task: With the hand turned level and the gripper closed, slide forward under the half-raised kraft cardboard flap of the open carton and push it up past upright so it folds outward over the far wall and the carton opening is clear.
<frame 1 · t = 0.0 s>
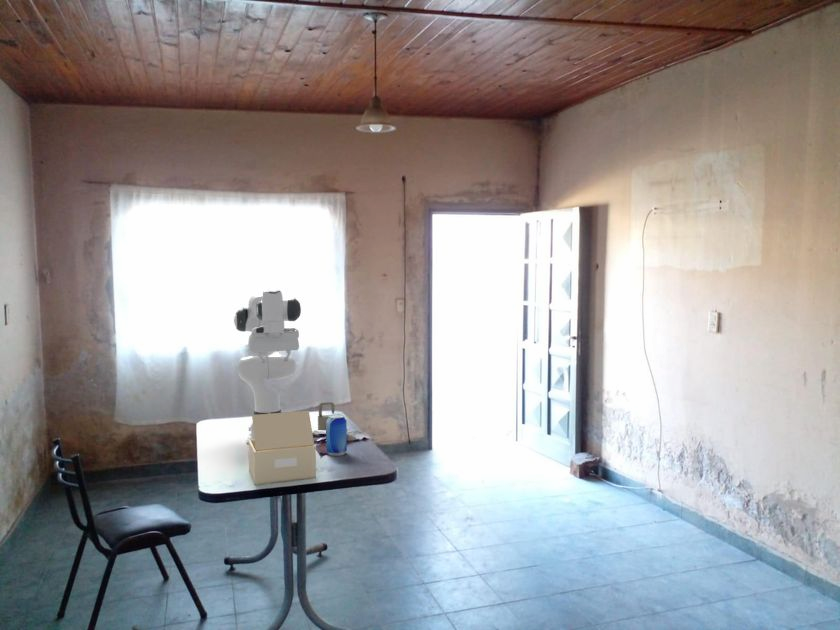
hand: (274, 362, 273), 39 cm above the table, tool pointing down, fingers open, 8 cm apart
beer can: (336, 454, 278), on the table
padlock: (327, 433, 312), on the table
carton flap: (285, 447, 241), point 13 cm above the table, hinge at 50.0°
carton: (281, 474, 250), on the table
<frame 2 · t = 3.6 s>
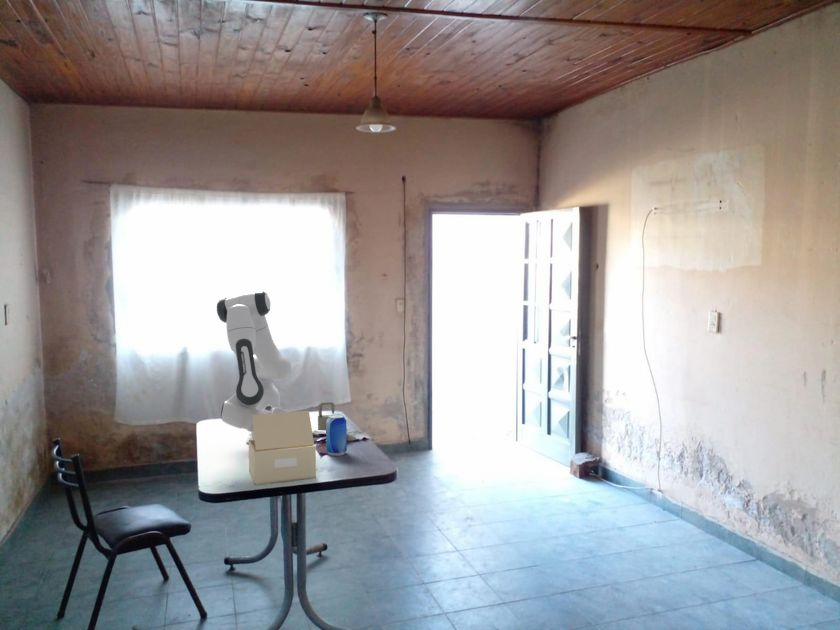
hand: (295, 434, 260), 13 cm above the table, tool tilted 70°, fingers closed, pressing on carton
nothing on the table moved.
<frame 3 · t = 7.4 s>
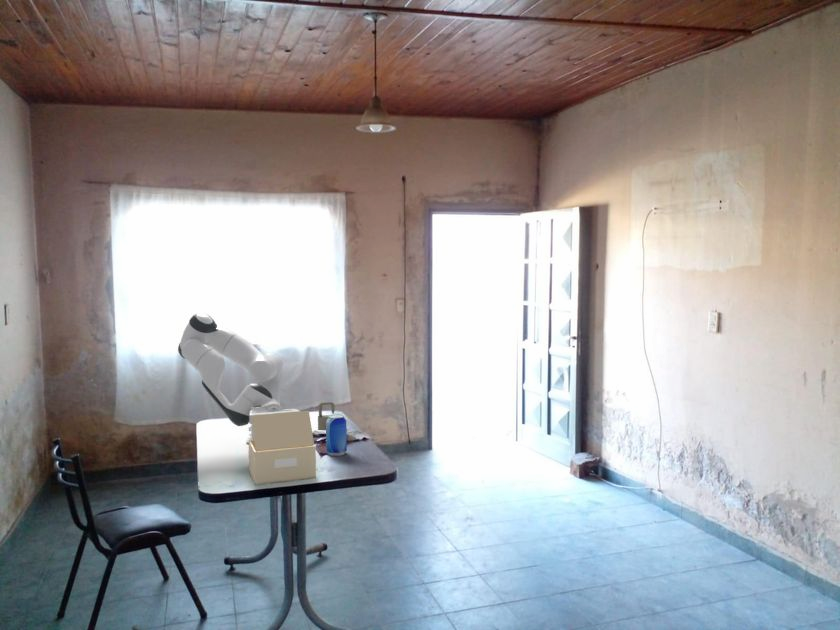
hand: (278, 420, 255), 19 cm above the table, tool horizontal, fingers closed
nothing on the table moved.
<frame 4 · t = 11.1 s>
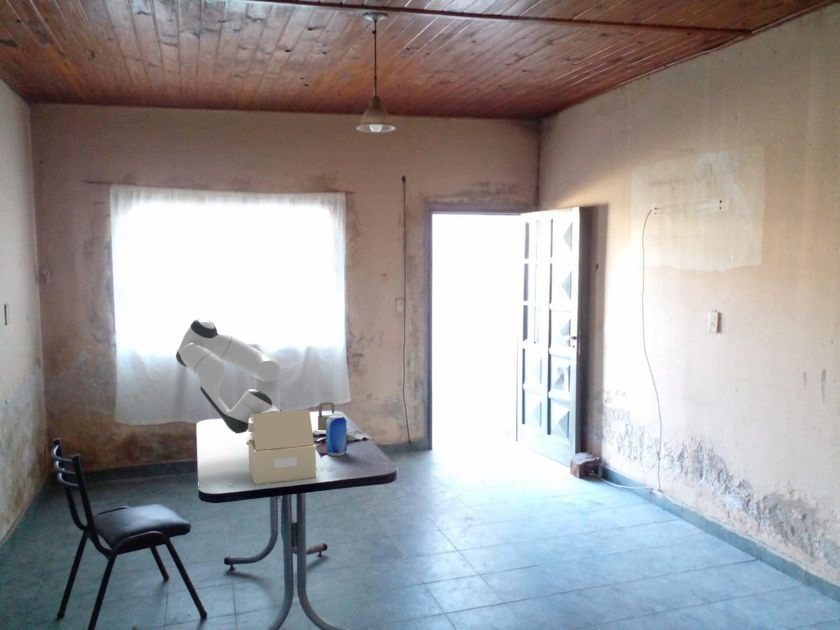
hand: (278, 429, 245), 18 cm above the table, tool horizontal, fingers closed, pressing on carton flap
carton flap: (285, 447, 241), point 13 cm above the table, hinge at 54.8°, touching gripper
everything else where it was.
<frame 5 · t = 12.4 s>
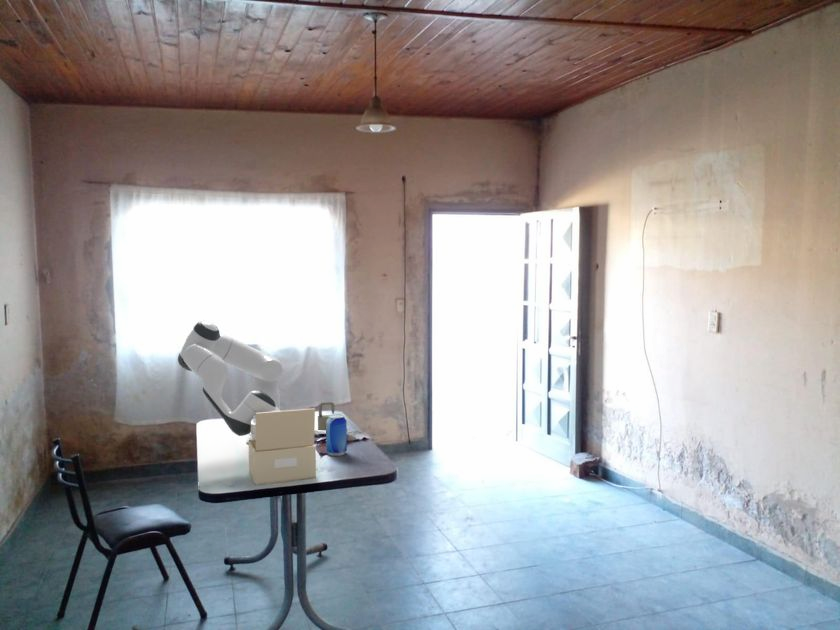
hand: (281, 430, 240), 19 cm above the table, tool horizontal, fingers closed, pressing on carton flap
carton flap: (285, 447, 241), point 13 cm above the table, hinge at 98.8°, touching gripper
everything else where it was.
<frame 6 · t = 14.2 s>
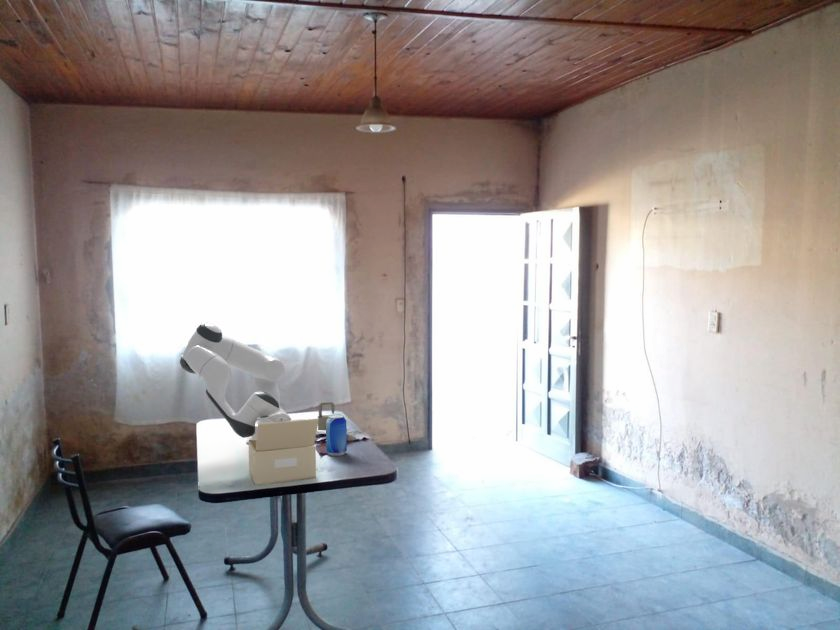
hand: (286, 432, 237), 19 cm above the table, tool horizontal, fingers closed, pressing on carton flap
carton flap: (285, 447, 241), point 13 cm above the table, hinge at 126.6°, touching gripper
everything else where it was.
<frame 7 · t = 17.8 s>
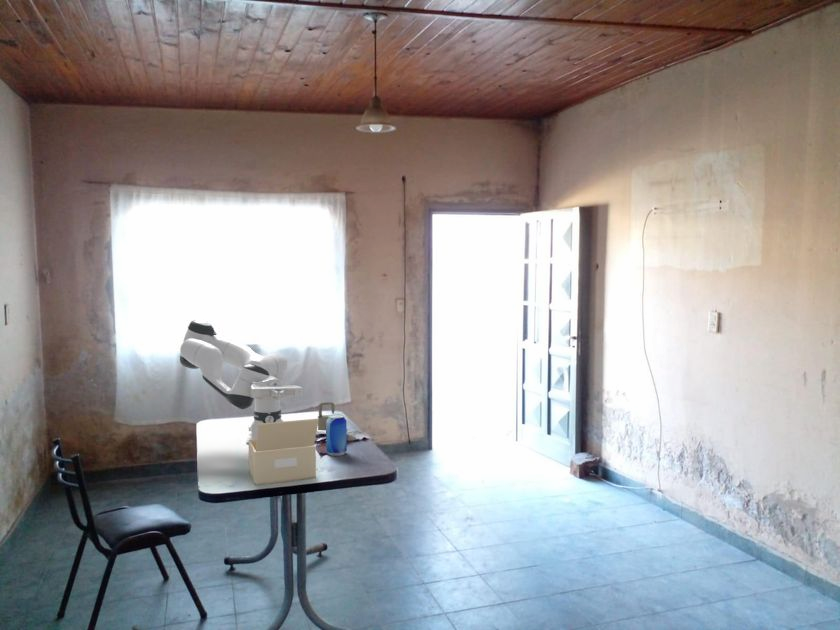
hand: (280, 394, 255), 29 cm above the table, tool horizontal, fingers closed
carton flap: (285, 447, 241), point 13 cm above the table, hinge at 126.6°
everything else where it was.
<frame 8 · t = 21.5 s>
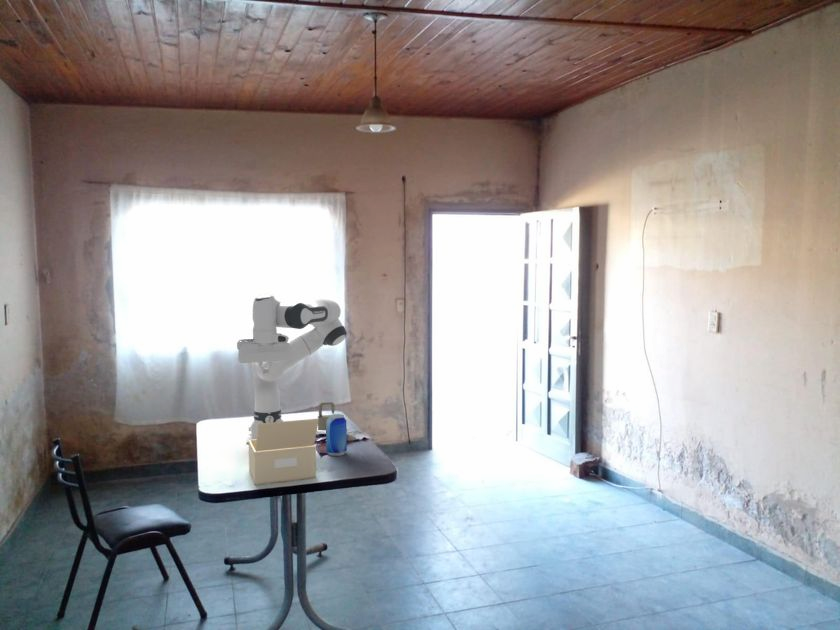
hand: (265, 373, 255), 37 cm above the table, tool pointing down, fingers closed
nothing on the table moved.
at the end: carton flap at +127° (first picture: +50°); beer can moved 0.2 cm from its start; padlock moved 0.2 cm from its start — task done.
